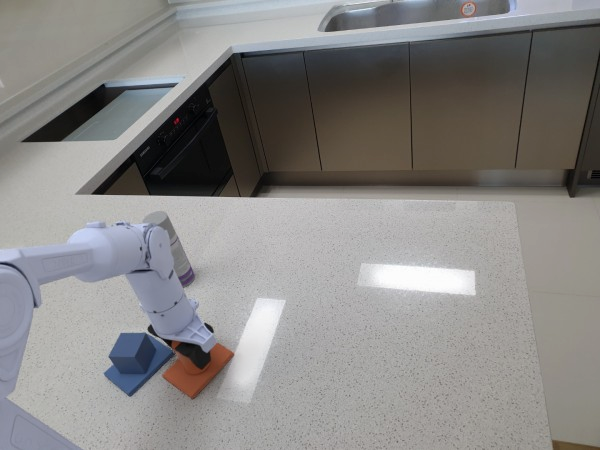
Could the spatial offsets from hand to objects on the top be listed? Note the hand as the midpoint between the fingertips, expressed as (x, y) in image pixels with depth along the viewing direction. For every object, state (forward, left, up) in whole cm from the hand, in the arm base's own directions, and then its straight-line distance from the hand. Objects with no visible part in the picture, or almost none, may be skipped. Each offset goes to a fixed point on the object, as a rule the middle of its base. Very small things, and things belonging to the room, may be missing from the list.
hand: (194, 357), depth 71 cm
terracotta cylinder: (0, 0, -1) cm, 1 cm away
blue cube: (-5, +9, -2) cm, 10 cm away
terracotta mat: (0, 0, -2) cm, 2 cm away
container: (+12, +18, -2) cm, 22 cm away
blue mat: (-5, +9, -2) cm, 11 cm away
